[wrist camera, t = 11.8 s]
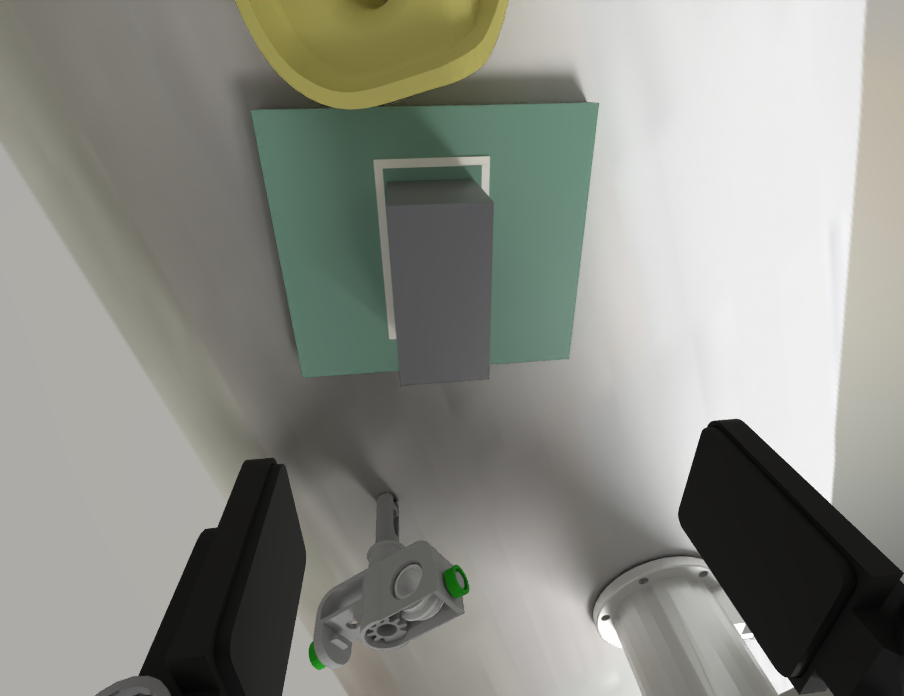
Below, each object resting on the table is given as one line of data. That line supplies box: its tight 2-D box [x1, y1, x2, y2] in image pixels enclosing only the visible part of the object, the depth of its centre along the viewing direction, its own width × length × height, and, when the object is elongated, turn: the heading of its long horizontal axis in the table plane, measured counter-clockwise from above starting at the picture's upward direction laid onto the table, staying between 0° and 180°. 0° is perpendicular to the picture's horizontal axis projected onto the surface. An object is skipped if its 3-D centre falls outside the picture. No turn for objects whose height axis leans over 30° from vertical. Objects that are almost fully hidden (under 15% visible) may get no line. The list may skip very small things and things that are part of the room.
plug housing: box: [386, 179, 494, 386], centre depth 23 cm, size 4×8×6 cm, turn 1°
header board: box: [250, 102, 599, 378], centre depth 24 cm, size 16×14×5 cm
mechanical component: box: [309, 493, 469, 670], centre depth 31 cm, size 3×10×10 cm, turn 123°
